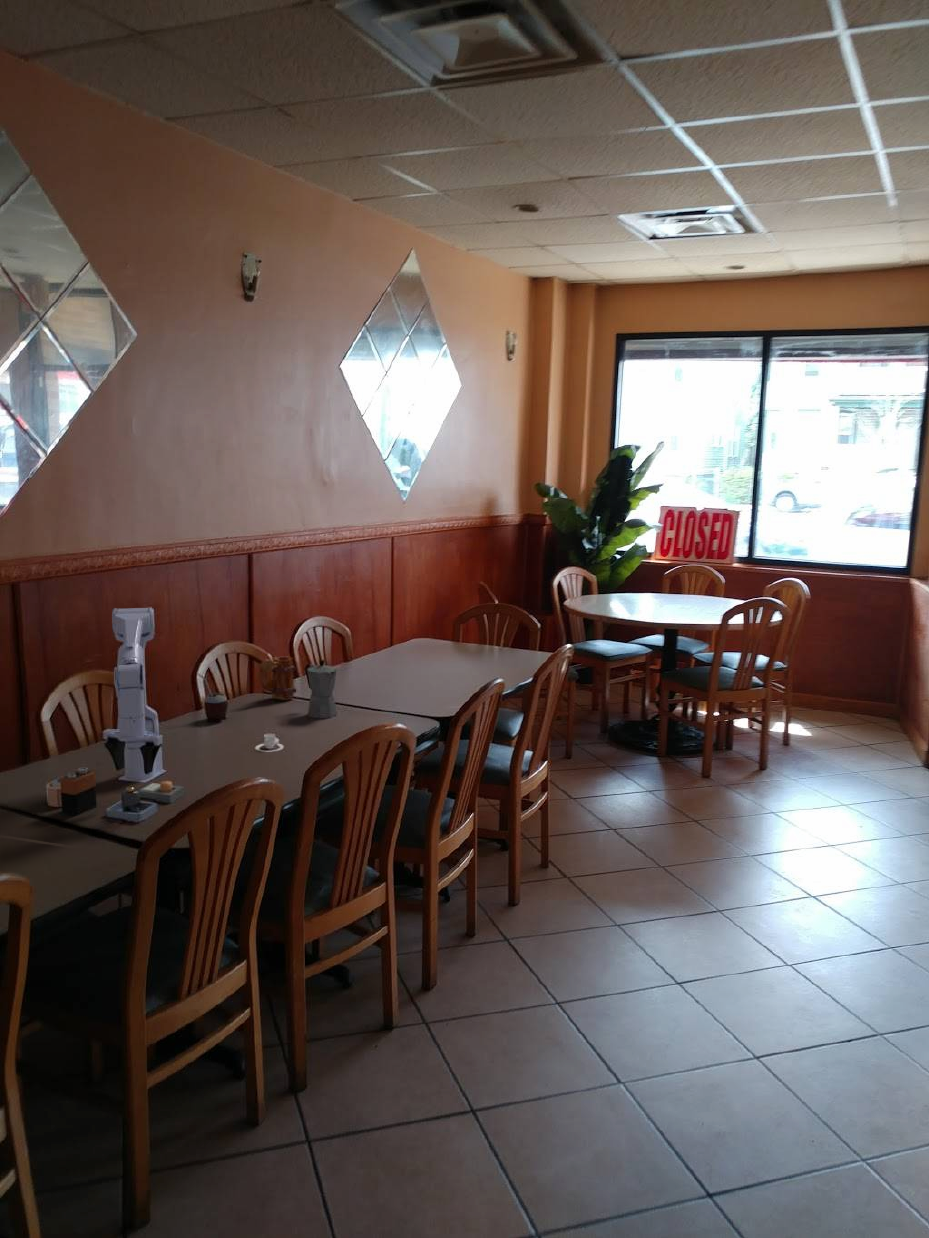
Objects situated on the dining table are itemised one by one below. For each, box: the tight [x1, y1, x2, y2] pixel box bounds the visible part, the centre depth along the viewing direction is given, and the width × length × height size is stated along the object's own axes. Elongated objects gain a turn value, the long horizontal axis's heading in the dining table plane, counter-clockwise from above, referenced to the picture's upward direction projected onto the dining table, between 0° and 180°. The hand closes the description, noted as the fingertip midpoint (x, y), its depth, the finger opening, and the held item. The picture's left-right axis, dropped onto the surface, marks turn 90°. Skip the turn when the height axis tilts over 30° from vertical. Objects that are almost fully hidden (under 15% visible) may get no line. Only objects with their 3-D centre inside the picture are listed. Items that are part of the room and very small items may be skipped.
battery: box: [60, 766, 98, 817], centre depth 218 cm, size 4×7×10 cm, turn 156°
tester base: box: [139, 782, 185, 804], centre depth 229 cm, size 9×6×2 cm, turn 75°
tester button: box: [159, 780, 173, 793], centre depth 228 cm, size 3×3×3 cm
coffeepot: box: [304, 659, 338, 719], centre depth 299 cm, size 15×9×18 cm, turn 44°
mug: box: [258, 655, 297, 701], centre depth 314 cm, size 15×8×15 cm, turn 144°
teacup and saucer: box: [254, 733, 284, 753], centre depth 267 cm, size 9×8×4 cm
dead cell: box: [52, 775, 65, 788], centre depth 223 cm, size 4×4×6 cm
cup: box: [46, 780, 62, 808], centre depth 223 cm, size 6×6×5 cm
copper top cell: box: [120, 786, 141, 813], centre depth 217 cm, size 4×4×6 cm
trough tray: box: [104, 799, 159, 823], centre depth 217 cm, size 7×9×2 cm
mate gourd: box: [196, 672, 229, 724], centre depth 291 cm, size 8×8×15 cm
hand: (134, 770), depth 219 cm, fingers open, 7 cm apart
